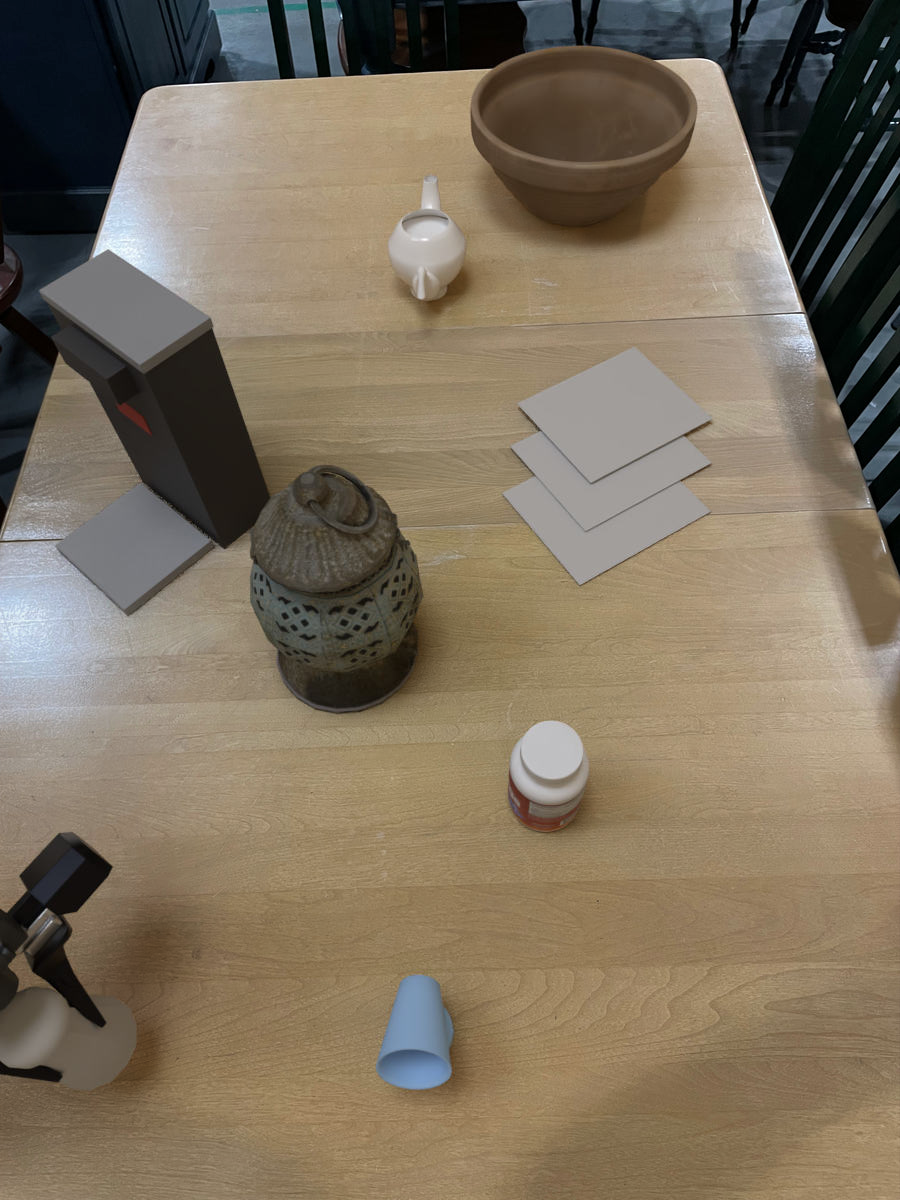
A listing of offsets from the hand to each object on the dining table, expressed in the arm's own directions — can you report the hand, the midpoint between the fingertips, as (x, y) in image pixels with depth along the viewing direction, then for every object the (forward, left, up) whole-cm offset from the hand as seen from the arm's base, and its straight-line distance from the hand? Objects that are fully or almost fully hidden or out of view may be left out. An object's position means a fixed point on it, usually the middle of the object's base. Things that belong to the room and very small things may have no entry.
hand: (81, 1049), depth 54 cm
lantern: (+27, +25, -11) cm, 39 cm away
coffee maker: (+15, +48, -11) cm, 51 cm away
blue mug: (+19, -8, -11) cm, 24 cm away
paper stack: (+61, +34, -11) cm, 71 cm away
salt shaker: (-1, +1, -7) cm, 7 cm away
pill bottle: (+36, +4, -11) cm, 38 cm away
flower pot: (+82, +77, -11) cm, 113 cm away
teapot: (+56, +69, -11) cm, 90 cm away
